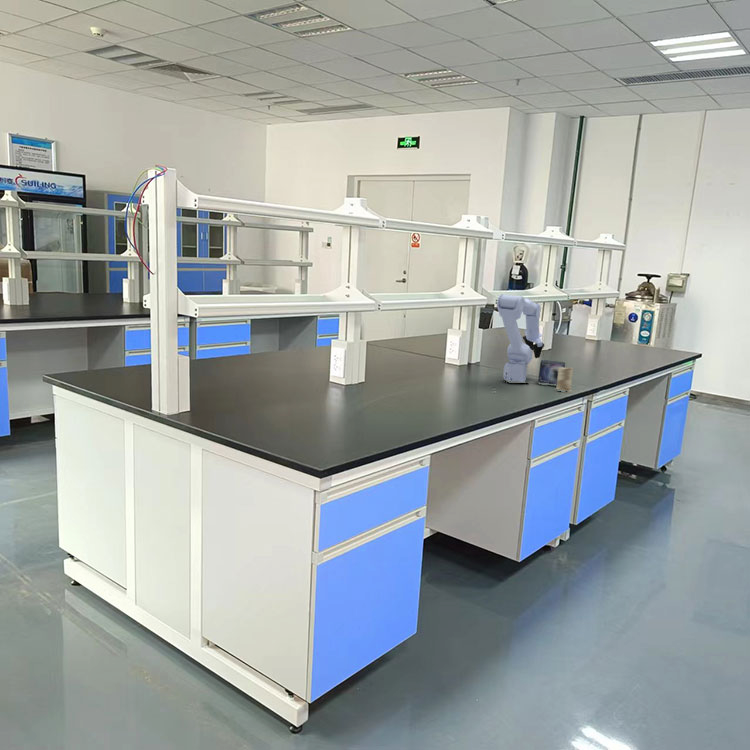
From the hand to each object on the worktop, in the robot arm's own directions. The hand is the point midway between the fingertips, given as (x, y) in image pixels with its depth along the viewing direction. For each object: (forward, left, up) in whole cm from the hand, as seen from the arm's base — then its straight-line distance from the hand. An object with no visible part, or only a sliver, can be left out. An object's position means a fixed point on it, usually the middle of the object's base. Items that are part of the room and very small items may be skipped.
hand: (533, 353), depth 300 cm
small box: (+1, -16, -12) cm, 20 cm away
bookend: (+1, -28, -11) cm, 30 cm away
